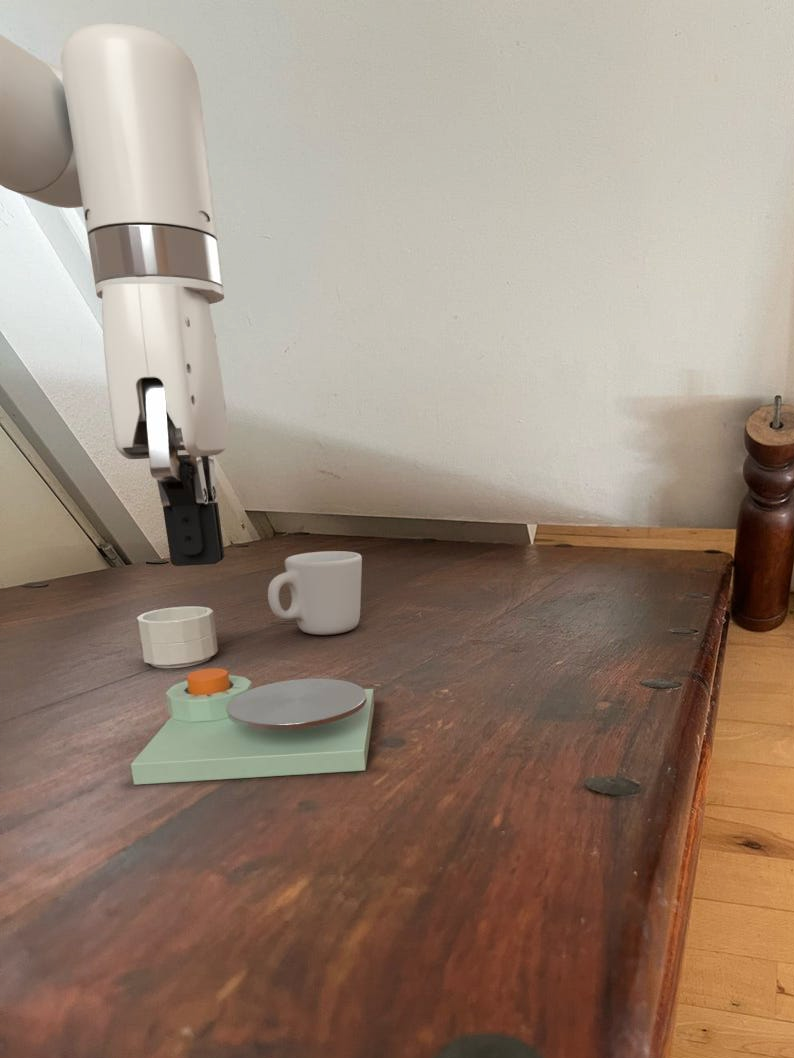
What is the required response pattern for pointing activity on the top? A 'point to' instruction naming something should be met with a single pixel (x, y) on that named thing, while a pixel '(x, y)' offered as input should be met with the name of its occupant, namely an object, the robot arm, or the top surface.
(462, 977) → the top surface
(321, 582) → the cup
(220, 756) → the scale
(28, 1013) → the top surface
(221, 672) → the power button
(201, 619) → the bowl
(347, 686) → the platter
